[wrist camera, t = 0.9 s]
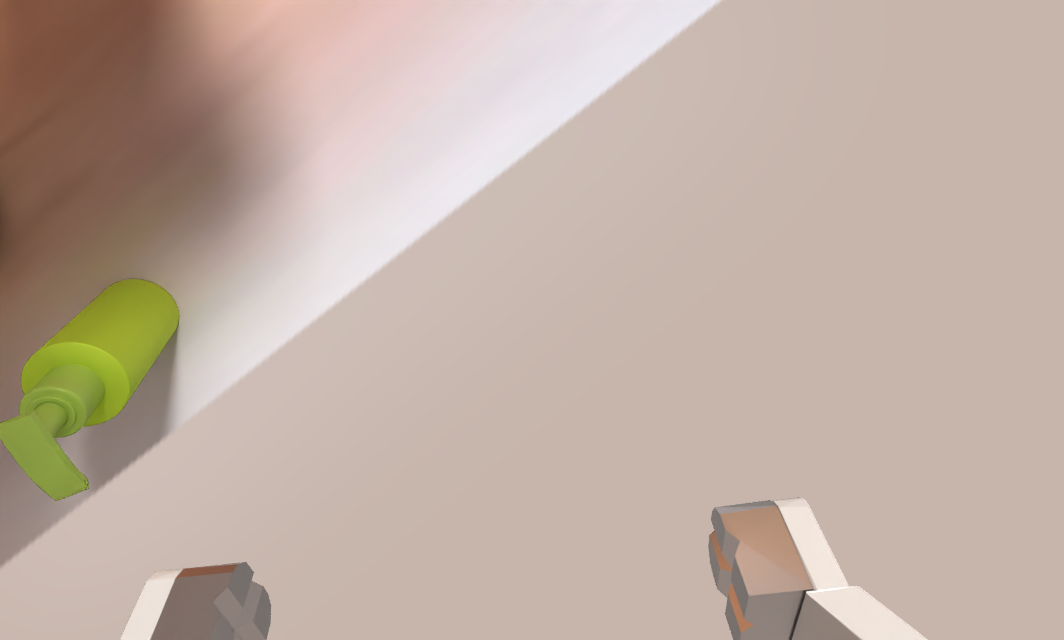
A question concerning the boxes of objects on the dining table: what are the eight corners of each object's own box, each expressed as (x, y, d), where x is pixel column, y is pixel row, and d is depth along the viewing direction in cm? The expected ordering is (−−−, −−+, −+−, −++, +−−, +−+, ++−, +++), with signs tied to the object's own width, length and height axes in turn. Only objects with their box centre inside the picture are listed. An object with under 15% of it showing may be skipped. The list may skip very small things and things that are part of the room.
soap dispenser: (129, 367, 53) (15, 521, 35) (81, 294, 50) (-70, 421, 32) (199, 341, 54) (122, 479, 36) (155, 268, 51) (48, 378, 33)
